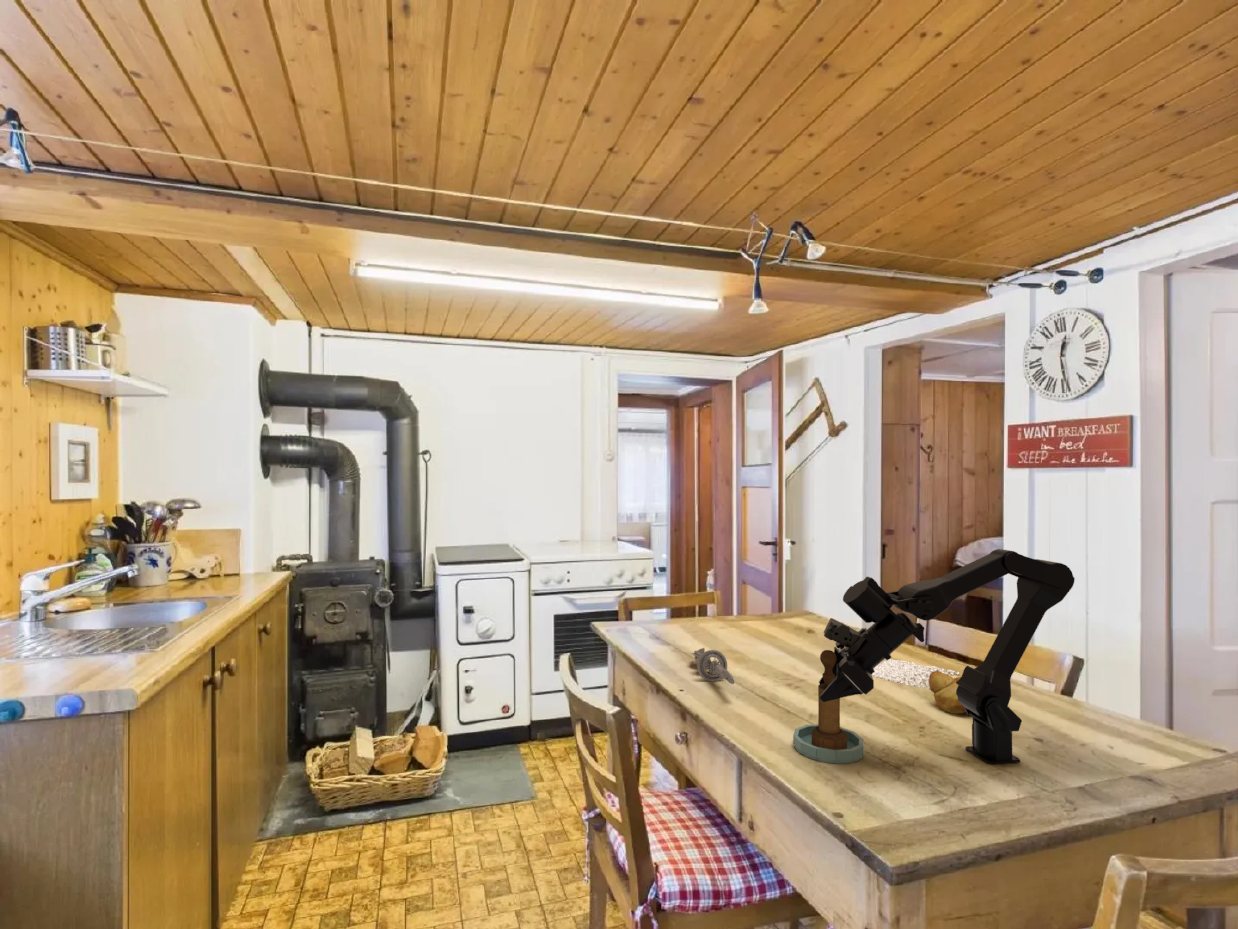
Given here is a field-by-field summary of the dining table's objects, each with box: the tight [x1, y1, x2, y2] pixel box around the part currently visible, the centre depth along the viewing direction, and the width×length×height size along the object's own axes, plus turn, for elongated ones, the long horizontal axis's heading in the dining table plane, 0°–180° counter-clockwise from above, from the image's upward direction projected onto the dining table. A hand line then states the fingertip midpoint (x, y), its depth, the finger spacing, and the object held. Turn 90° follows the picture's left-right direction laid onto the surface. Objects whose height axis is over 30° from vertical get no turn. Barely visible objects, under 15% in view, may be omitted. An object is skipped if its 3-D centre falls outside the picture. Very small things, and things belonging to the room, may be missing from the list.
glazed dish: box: [792, 723, 865, 765], centre depth 119 cm, size 13×13×2 cm
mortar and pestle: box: [812, 649, 847, 750], centre depth 119 cm, size 7×6×18 cm
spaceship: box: [691, 647, 735, 685], centre depth 159 cm, size 8×35×8 cm
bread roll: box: [928, 671, 966, 715], centre depth 140 cm, size 13×10×8 cm
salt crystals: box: [871, 658, 960, 690], centre depth 165 cm, size 20×20×2 cm
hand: (821, 691), depth 119 cm, fingers open, 9 cm apart
